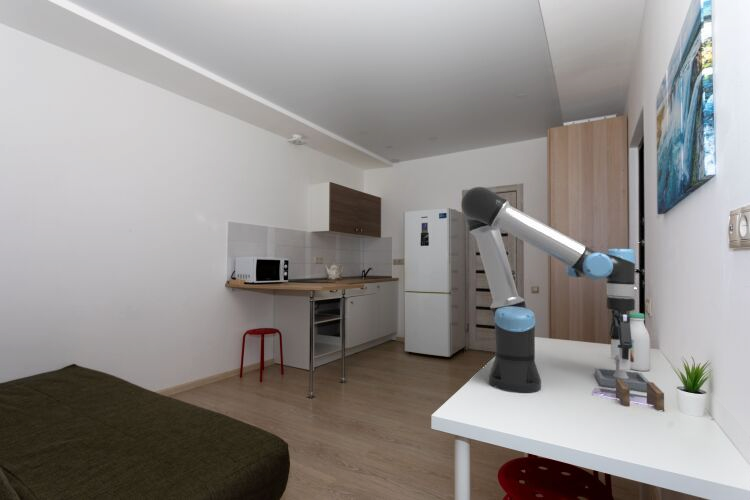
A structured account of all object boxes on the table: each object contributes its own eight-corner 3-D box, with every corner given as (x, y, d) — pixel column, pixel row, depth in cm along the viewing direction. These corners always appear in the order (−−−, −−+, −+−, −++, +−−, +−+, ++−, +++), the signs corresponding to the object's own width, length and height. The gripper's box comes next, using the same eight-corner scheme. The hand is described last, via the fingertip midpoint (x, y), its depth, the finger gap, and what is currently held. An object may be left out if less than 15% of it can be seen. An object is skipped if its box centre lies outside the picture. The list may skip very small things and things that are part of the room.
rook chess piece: (631, 384, 117) (631, 358, 117) (615, 383, 118) (615, 357, 118) (625, 379, 121) (625, 354, 121) (610, 378, 122) (609, 353, 122)
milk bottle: (649, 367, 138) (648, 313, 139) (651, 372, 131) (650, 315, 132) (624, 364, 142) (623, 311, 143) (624, 369, 136) (624, 313, 136)
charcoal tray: (600, 386, 116) (600, 378, 116) (594, 375, 128) (594, 367, 128) (651, 392, 111) (651, 384, 111) (640, 380, 123) (640, 372, 123)
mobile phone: (655, 405, 100) (590, 392, 108) (655, 408, 100) (590, 396, 108) (655, 396, 106) (593, 385, 115) (655, 400, 106) (593, 389, 115)
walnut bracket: (623, 405, 100) (622, 388, 101) (615, 393, 110) (615, 378, 110) (664, 411, 97) (664, 393, 97) (653, 398, 106) (652, 382, 106)
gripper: (645, 301, 107) (644, 376, 107) (625, 295, 130) (625, 356, 130) (614, 299, 110) (613, 372, 110) (600, 293, 133) (600, 354, 132)
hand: (619, 364), depth 120 cm, fingers open, 13 cm apart
